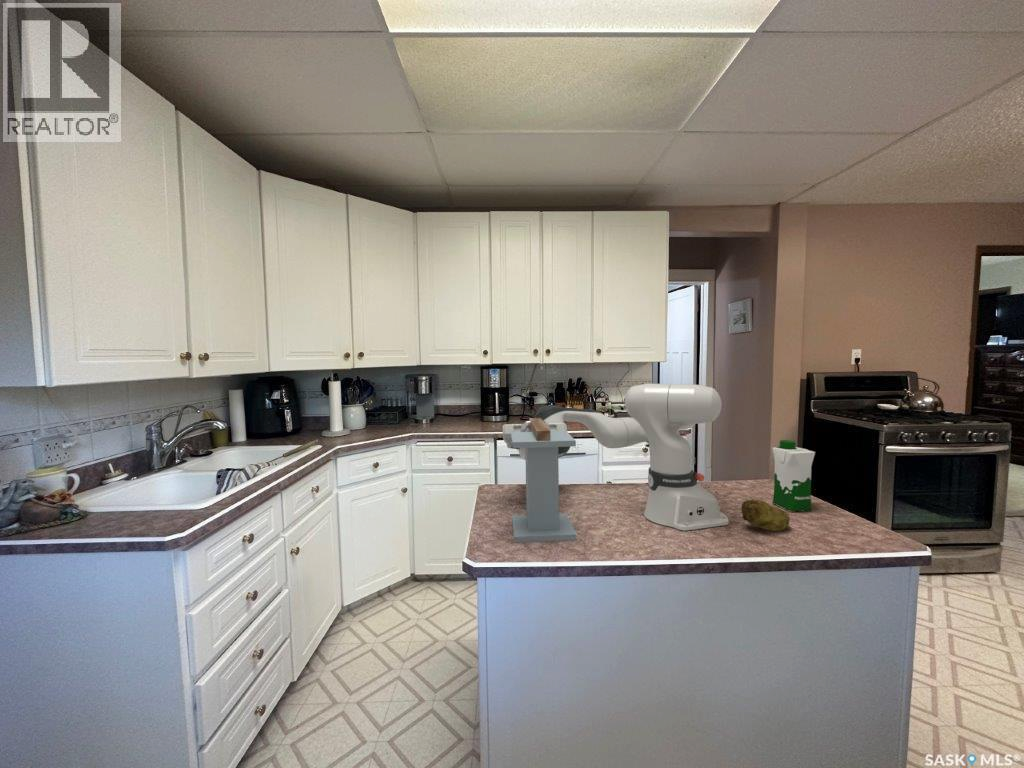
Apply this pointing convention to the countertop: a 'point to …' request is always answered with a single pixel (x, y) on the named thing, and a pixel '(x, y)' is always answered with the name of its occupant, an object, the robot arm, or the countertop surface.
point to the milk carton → (792, 476)
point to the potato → (764, 515)
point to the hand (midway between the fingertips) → (536, 423)
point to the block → (540, 429)
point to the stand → (542, 489)
